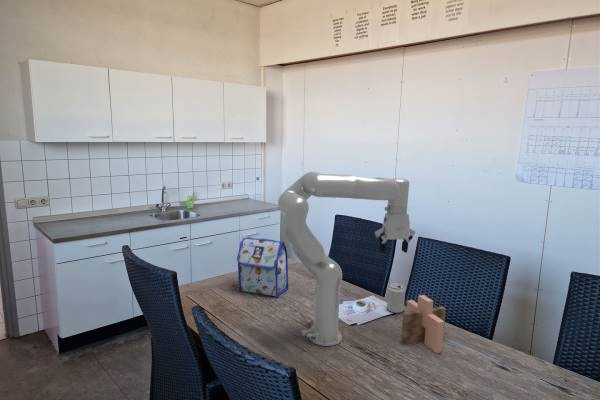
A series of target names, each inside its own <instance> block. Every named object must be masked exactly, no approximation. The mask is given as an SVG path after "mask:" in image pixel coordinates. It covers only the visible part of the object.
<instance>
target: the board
mask: <svg viewBox="0 0 600 400" xmlns="http://www.w3.org/2000/svg"><path fill="white" fill-rule="evenodd" d="M402 312H403V313H402V325H401V326H402V327H401V330H402V331H401V339H400V340H401V343H402V344H403V345H408V344H413V343H419V342H420V343H421V342H425V331H426V328H424V327H423V326H422V325H421V312H420V311H419V310H416V311H409V312H406V311H402ZM446 312H447V308H445V307H444V306H437V307H433V311H432V314H434V315H435V316H437V317H438V318H440V319H441V320H443V321H444V327H445V324H446V323H445V322H446V314H447V313H446ZM444 334H445V332H444V333H443V338H444V337H445V335H444Z"/></svg>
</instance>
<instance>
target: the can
mask: <svg viewBox="0 0 600 400" xmlns="http://www.w3.org/2000/svg"><path fill="white" fill-rule="evenodd" d="M405 296H406V288H405V286H404V285H403V284H402V283H398V282H397V283H396V282H393V283H390V284H389V286H388V287H387V298H386V299H387V300H386V309H387V310H388V311H389V312H390V311H391V312H390V313H393V314H401V313H402V312H404V310H405V299H406V298H405Z"/></svg>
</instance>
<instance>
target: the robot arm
mask: <svg viewBox="0 0 600 400" xmlns="http://www.w3.org/2000/svg"><path fill="white" fill-rule="evenodd" d="M409 191H410V181H409V180H408V179H406V178H398V177H396V178H395V177H394V178H387V177H382V176H381V177H380V176H377V177H374V178H366V177H361V176H356V175H352V174H351V175H350V174H330V173H329V174H328V173H319V172H316V171H309V172H306V173H304V174H303V175H302V176H301V177H299V179H297V180H296V181H295V182H293V184H291V185H290V186H289V187H288V188H287V189H285V190H284V191H283V192H282V193H281V194H280V196H279V197H278V200H277V203H278V204H277V206H278V208H279V210H280V211H281V212H282V213H283V214H284V216H283V219H282V229H283V234H284V235H285V237H286V238H287V240H288V241H289V243H290V244H291V249H292V251H293V253H294V255H295V256H296V257H297V259H298V260H299V262H301V264H302V265H303V267H305V269H306V270H307V271H308V272H309V273H310V274H311V275H312V277H314V278H315V279H316V286H315V289H314V295H313V296H314V297H313V305H314V306H313V309H314V310H313V325H310V328H308V329H303V330H301V333H300V334H301V336H303V337H304V336H306V338H309V340H310V341H311V342H312V343H313V344H315V345H318V346H324V347H331V346H335V345H336V346H337V345H338V344H340V343H341V342H342V340H343V335H342V334H341V332H340V331H339V319H340V318H339V317H340V316H339V314H340V291H341V284H342V280H343V271H342V268H341V266H340V265H339V263H337V262H336V261H335V260H334V259H332V258H331V257H329V256H328V255H327V254H326V252H325V248H324V246H323V244H322V243H321V242H320V240H319V239H318V238H317V237H316V236H315V235H314V234H313V232H312V231H311V229H310V227H308V225H307V217H308V213H309V207H310V206H309V202H308V200H309V199H310V197H312V196H313V197H317V198H334V199H335V198H337V199H338V198H339V199H353V200H369V201H370V200H371V201H387V206H386V207H384V211H386V212H385V213H384V217H383V222H382V227H381V228H380V229H377V230H375V231H374V235H375V238H376V240H378V242H379V252H380V253H382V254H386V250H387V248H386V247H387V241H388V240H402V242H401V252H404V253H408V249H409V243H411V241H412V239H413V238H414V236H415V234H416V231H414V230H413V229H412V228H411V225H410V214H409V213H407V212H408V203H409Z"/></svg>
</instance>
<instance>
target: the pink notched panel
mask: <svg viewBox="0 0 600 400" xmlns="http://www.w3.org/2000/svg"><path fill="white" fill-rule="evenodd" d="M433 308H434V300H433V299H431V298H429V297H427V295H425V294H420V295H418V296H417V301H415V300H414V299H409V300H407V301H406V310H405V312H409V311H416V310H419V311H420V312H421V325H422V326H423V327H424V328H426V331H425V341H424V345H426V346H427V347H428V348H429V349H430V350H432V351H433V352H434V353H435V354H439V353H442V352H443V342H444V337H443V333H444V334H445V326H444V321H443V320H441V319H440V318H438V317H437V316H435V315H434V314H432V311H433Z"/></svg>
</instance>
